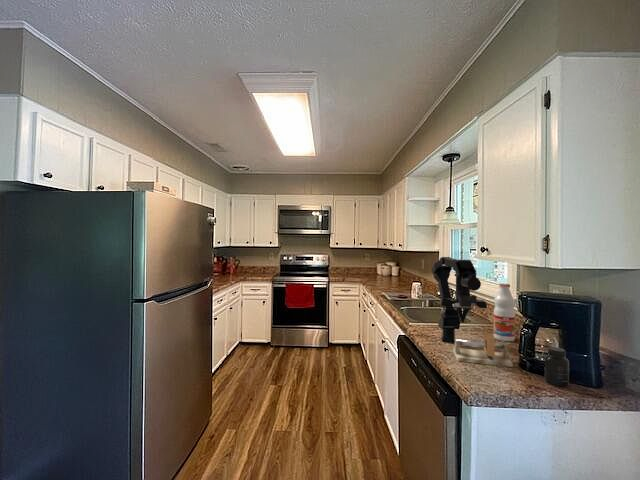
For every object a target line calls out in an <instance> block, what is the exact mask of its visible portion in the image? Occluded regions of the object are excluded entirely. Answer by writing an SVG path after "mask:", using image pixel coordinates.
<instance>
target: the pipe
mask: <svg viewBox="0 0 640 480" xmlns="http://www.w3.org/2000/svg"><path fill="white" fill-rule="evenodd" d="M456 340H460V346H462V347H464V346H465V347H474V348H483V349H484V348H487V342H484V340H483V341H482V340H470V339H460V338H457V339H455V343H454V346H455V345H456ZM506 343H507V342H503V343H502V342H495V350H502V349H504V344H505V345H509V343H507V344H506Z"/></svg>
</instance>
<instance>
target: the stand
mask: <svg viewBox="0 0 640 480" xmlns="http://www.w3.org/2000/svg"><path fill="white" fill-rule="evenodd" d="M455 339H458V338H456V337H455ZM460 340H461V339H460ZM460 340H456V345H455V344H454V347H453V349H452V350H453V353H454V356H455V359H456V360H457V361H458V362H461V363H462V362H463V363H473V364H483V365H490V366H502V367H510V368H511V367H512V368H513V362H512V360H510V345H509V344H508V343H507V342H505V343H506V344H508V345H505V344H504V349H501V352H500V351H499V352H497V351H495V357H493V356H488V355H487V354H486V352H485V351H484V350H479V349H478V350H477V349H468V348H467V349H466V348H461V345H460ZM501 343H504V341H503V342H501Z"/></svg>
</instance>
